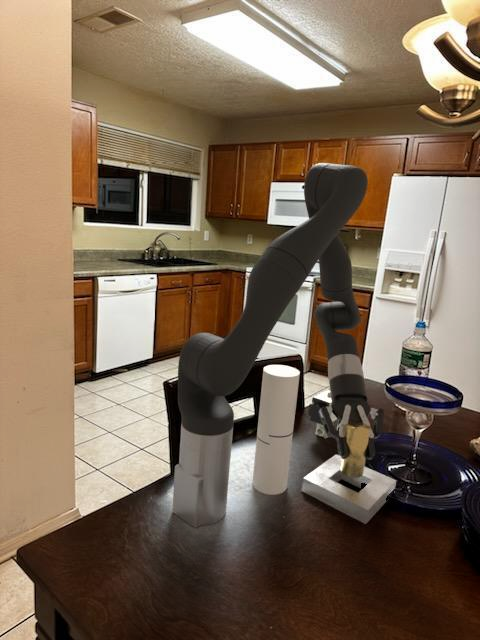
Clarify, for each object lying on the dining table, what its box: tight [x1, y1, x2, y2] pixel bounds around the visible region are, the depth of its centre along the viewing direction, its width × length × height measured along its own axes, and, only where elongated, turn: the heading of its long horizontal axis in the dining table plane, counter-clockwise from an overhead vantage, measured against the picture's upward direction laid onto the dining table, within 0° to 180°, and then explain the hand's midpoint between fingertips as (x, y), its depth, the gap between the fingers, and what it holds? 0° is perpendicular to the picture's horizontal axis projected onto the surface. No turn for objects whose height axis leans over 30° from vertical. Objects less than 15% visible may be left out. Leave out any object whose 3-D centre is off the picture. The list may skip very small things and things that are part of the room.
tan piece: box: [340, 421, 371, 478], centre depth 89 cm, size 5×5×10 cm
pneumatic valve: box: [307, 389, 338, 439], centre depth 115 cm, size 6×12×12 cm, turn 141°
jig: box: [301, 454, 397, 525], centre depth 91 cm, size 14×14×3 cm
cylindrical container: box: [252, 364, 301, 496], centre depth 89 cm, size 7×7×25 cm
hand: (357, 457), depth 88 cm, fingers closed on tan piece, 4 cm apart
